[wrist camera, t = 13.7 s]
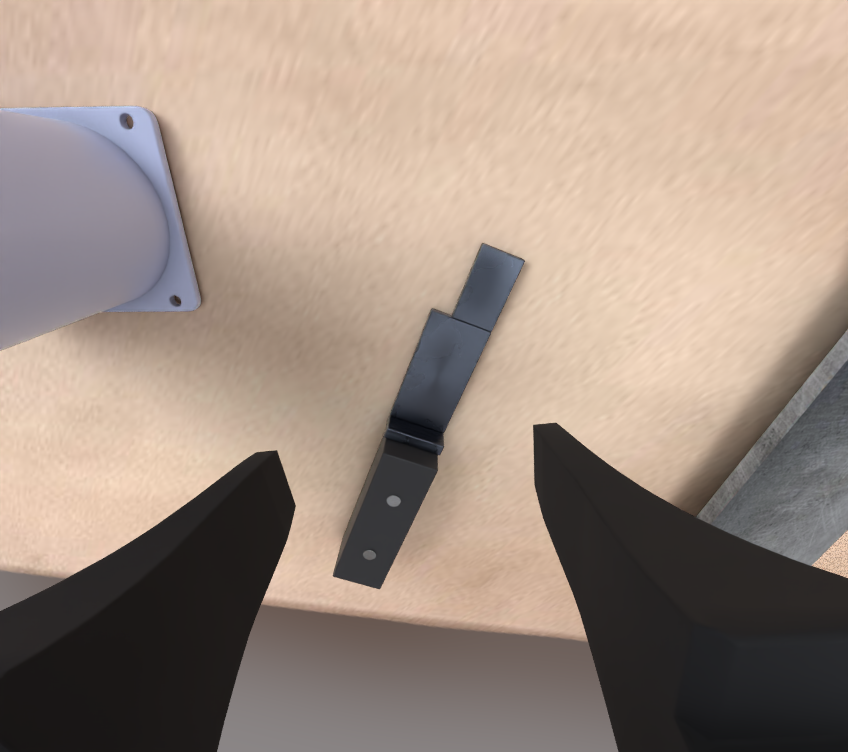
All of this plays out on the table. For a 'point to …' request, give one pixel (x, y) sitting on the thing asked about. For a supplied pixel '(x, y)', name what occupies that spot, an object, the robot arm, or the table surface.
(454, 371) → the knife
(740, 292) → the table surface
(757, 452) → the meat cleaver
